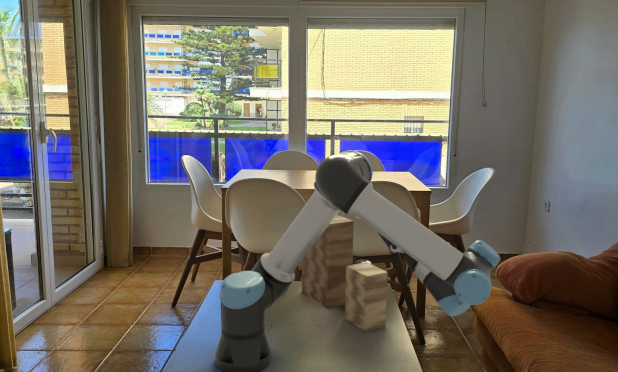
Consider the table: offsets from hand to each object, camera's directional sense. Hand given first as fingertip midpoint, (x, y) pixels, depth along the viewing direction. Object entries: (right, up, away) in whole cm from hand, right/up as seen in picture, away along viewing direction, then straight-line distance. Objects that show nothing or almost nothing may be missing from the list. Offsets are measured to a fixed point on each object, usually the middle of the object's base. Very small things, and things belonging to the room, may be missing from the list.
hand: (378, 207), depth 143 cm
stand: (-15, -34, +30) cm, 48 cm away
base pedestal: (-3, -38, +10) cm, 39 cm away
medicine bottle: (-1, -33, +36) cm, 49 cm away
